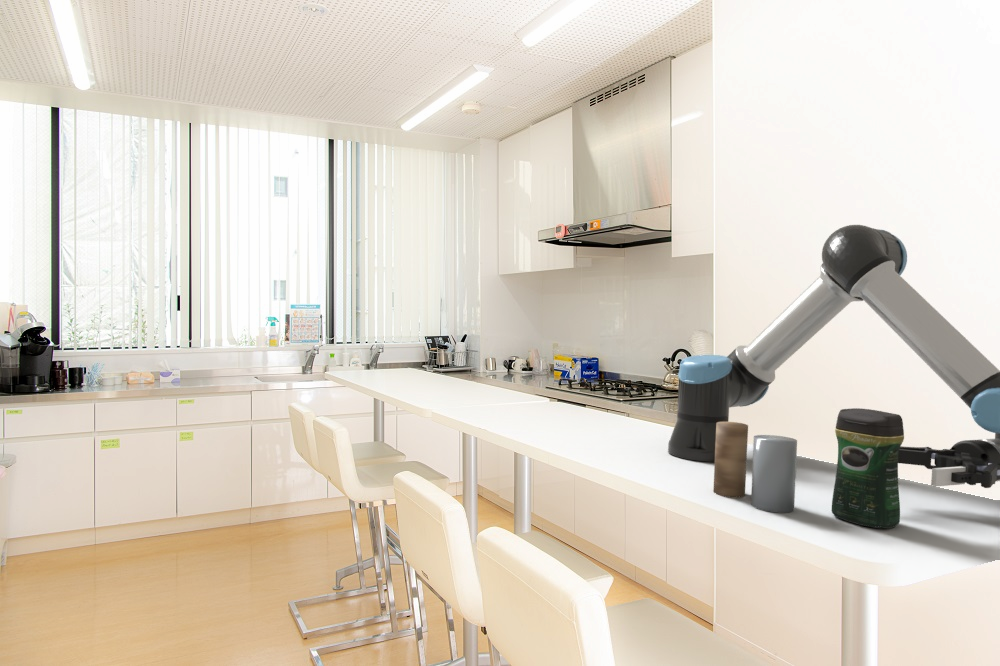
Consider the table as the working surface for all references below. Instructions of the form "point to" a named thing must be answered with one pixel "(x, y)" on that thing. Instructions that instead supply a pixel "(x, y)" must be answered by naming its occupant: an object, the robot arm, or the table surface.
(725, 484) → the walnut spice mill
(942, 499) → the table surface
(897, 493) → the coffee jar
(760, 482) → the slate canister
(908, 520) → the table surface
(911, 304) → the robot arm
